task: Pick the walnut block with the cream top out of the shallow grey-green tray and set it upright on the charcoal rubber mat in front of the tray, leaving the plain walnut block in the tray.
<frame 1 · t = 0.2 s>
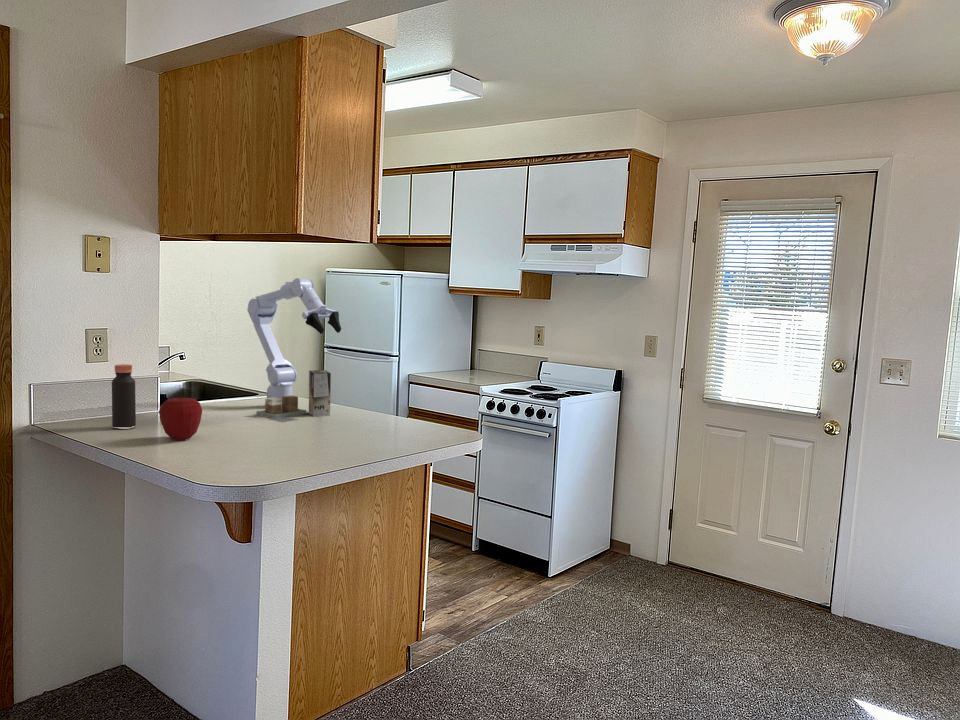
hand: (331, 331, 260), 31 cm above the table, tool tilted 45°, fingers open, 7 cm apart
plain block: (289, 412, 268), resting on tray
labelled block: (273, 415, 262), resting on tray
apple: (181, 439, 220), on the table
bottle: (124, 428, 233), on the table
coffee box: (319, 415, 268), on the table
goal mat: (283, 420, 254), on the table
tray: (281, 415, 265), on the table
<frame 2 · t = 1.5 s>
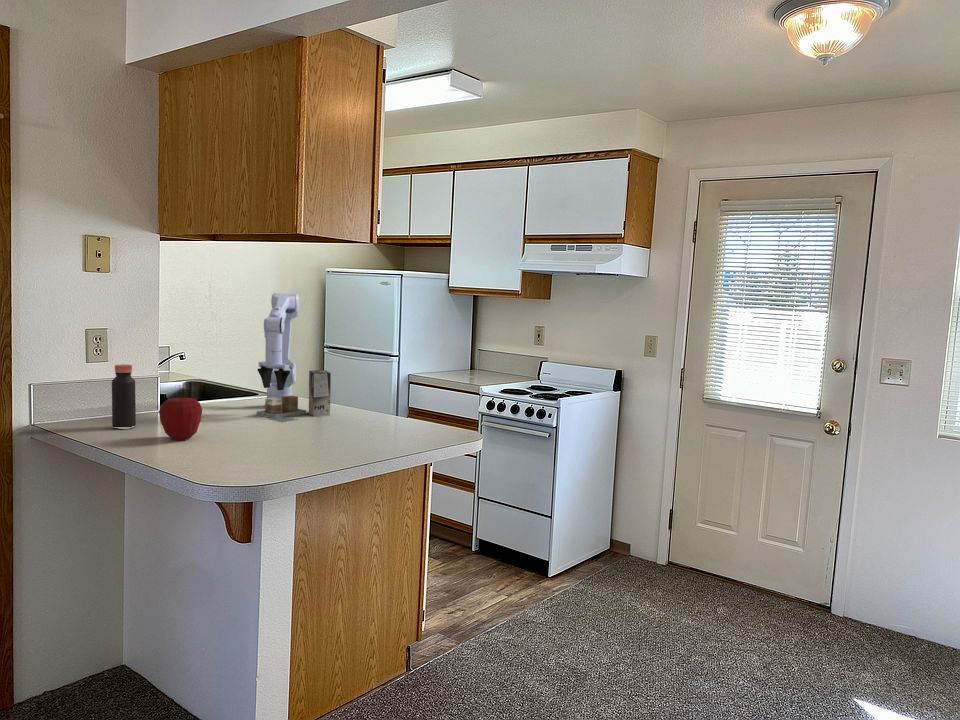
hand: (273, 388, 261), 10 cm above the table, tool pointing down, fingers open, 7 cm apart
nothing on the table moved.
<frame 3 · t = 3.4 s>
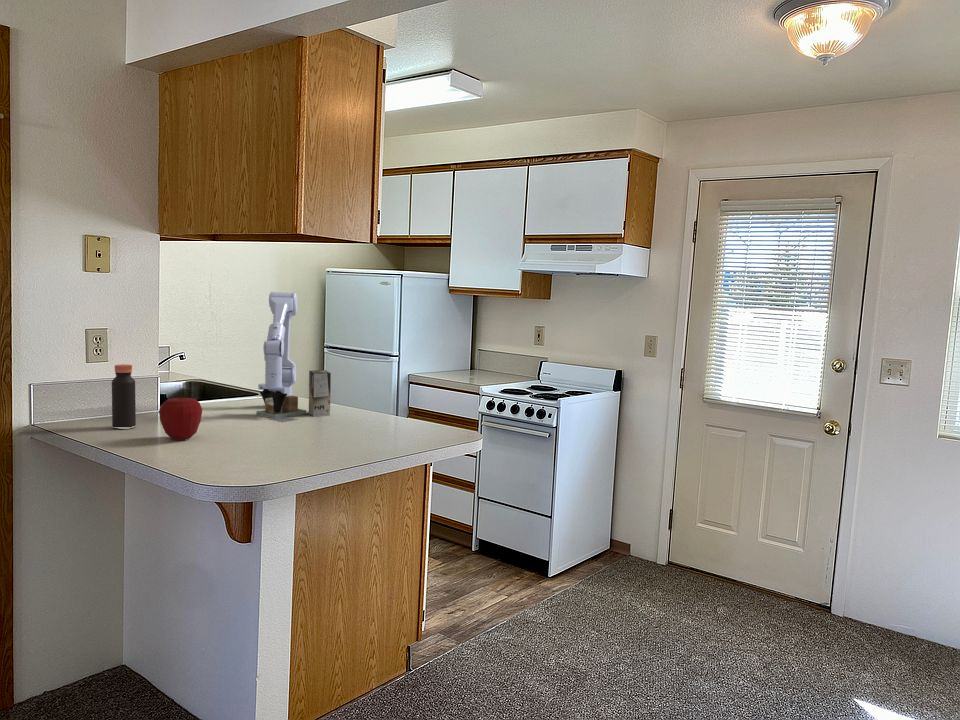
hand: (273, 411, 262), 2 cm above the table, tool pointing down, fingers closed on labelled block, 4 cm apart
labelled block: (273, 415, 262), resting on tray, touching gripper
everything else where it was.
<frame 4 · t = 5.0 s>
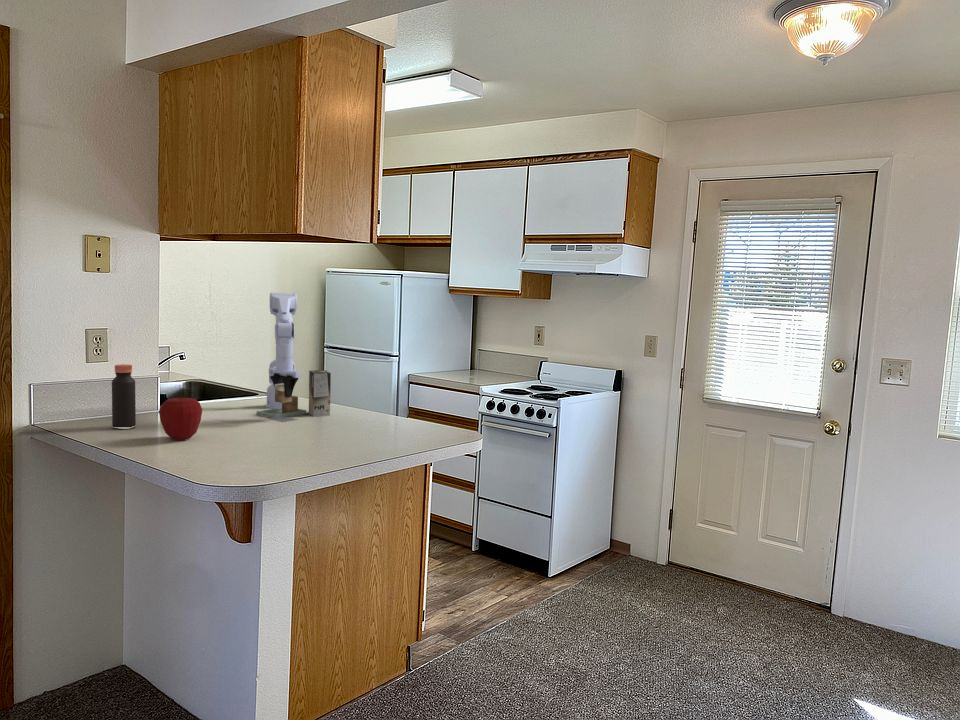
hand: (284, 396, 254), 9 cm above the table, tool pointing down, fingers closed on labelled block, 4 cm apart
labelled block: (283, 401, 254), point 7 cm above the table, touching gripper
everything else where it was.
when the fingers open (3 cm above the table, at t = 6.8 s): labelled block stays where it is, resting on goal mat.
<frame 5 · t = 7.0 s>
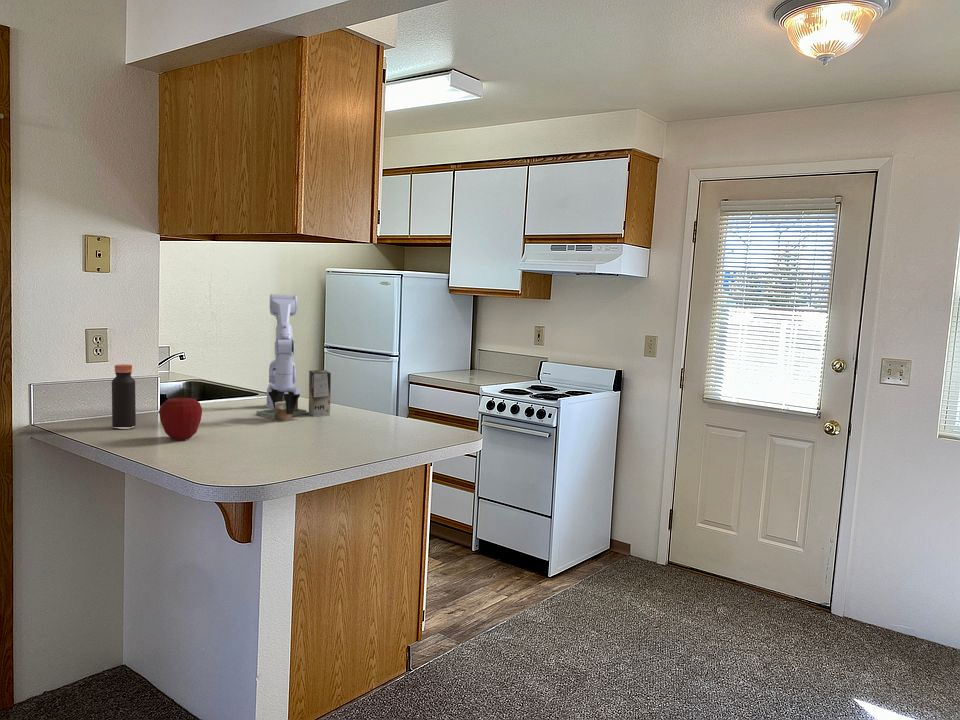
hand: (283, 412, 254), 3 cm above the table, tool pointing down, fingers open, 6 cm apart
labelled block: (283, 419, 254), resting on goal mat
everything else where it was.
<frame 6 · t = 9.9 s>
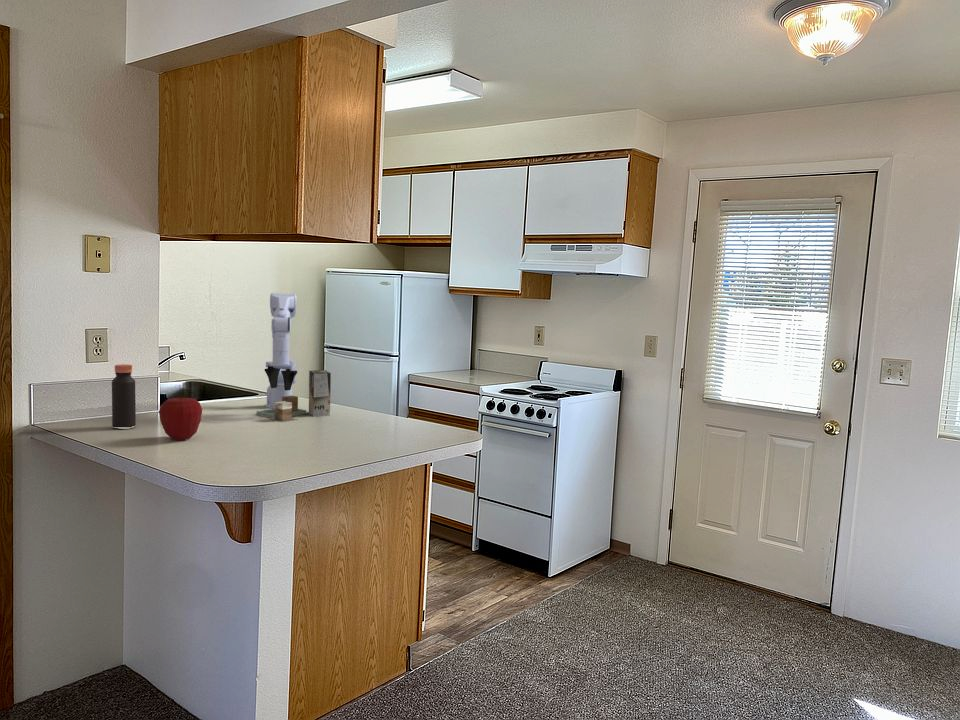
hand: (280, 389, 261), 10 cm above the table, tool pointing down, fingers open, 7 cm apart
nothing on the table moved.
at the end: labelled block inside the target area on the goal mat (0.3 cm from its centre), point 0.4 cm above the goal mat's base; labelled block tilted 0°; plain block moved 0.0 cm from its start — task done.
